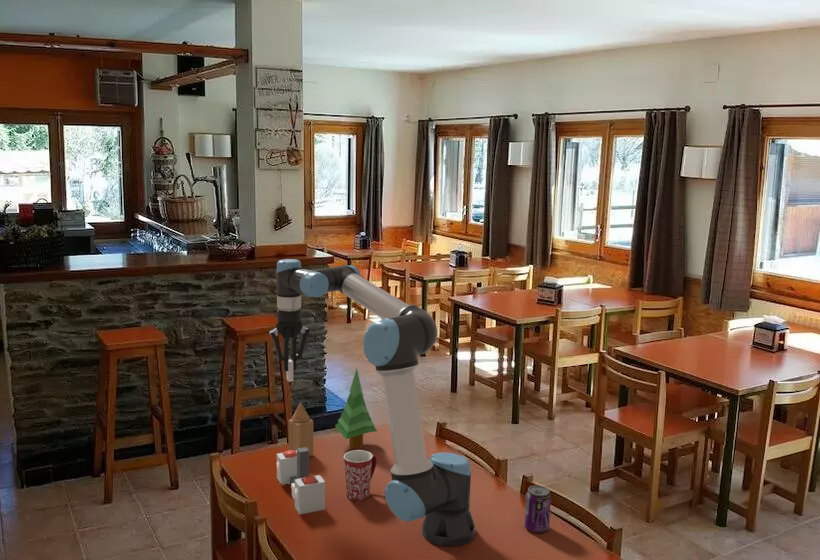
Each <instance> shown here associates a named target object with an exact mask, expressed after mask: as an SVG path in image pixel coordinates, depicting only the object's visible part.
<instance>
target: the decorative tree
mask: <svg viewBox="0 0 820 560" xmlns="http://www.w3.org/2000/svg"><path fill="white" fill-rule="evenodd" d="M363 393H364V392H363V388H362V386H361V381H360V375H359V371H358V368H357V367H356V369H355V373H354V375H353V378H352V382H351V386H350V389H349V394H348V397H347V399H346V403H345V405H344V408H343V410H342V412H341V413H340V418H339V419H337V422H338V423H336V424H335V425H334V426H335V429H337V430H338V432H339V433H340V434H341V435H342V436H343V438H344V439H345V440H348V439H349V447H350V448H351V449H360V448H362V447H363V446H364V434H367V433H375V432H378V430H377V428H376V427H375V424H374V422H373V420H372V418H371V416H370V413H369V410H368V408H367V405H366V402H365V398H364V394H363Z"/></svg>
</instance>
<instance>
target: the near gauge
mask: <svg viewBox="0 0 820 560" xmlns="http://www.w3.org/2000/svg"><path fill="white" fill-rule="evenodd" d="M315 476H316V475H309V476H305V477H304V484H305V485H308V484H313V483H316V477H315Z"/></svg>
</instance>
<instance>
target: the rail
mask: <svg viewBox="0 0 820 560" xmlns="http://www.w3.org/2000/svg"><path fill="white" fill-rule="evenodd" d="M295 479H297V477H296V476H292V477H290V484H292V483H295ZM290 484H289V485H290Z"/></svg>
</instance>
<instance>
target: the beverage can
mask: <svg viewBox="0 0 820 560" xmlns="http://www.w3.org/2000/svg"><path fill="white" fill-rule="evenodd" d="M550 492H551V491H550V489H549V488H548V487H546V486H543V485H531V486H529V487H528V488H527V492H526V495H525V511H524V512H525V513H524V527H525V528H526V529H527V530H528V531H530V530H531V532H532V531H534V532H533V533H536V532H541V533H545V532H547V531H549V529H550V518H551V505H552V504H551V503H552V500H551V499H552V496H551V493H550ZM544 531H545V532H544Z"/></svg>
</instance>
